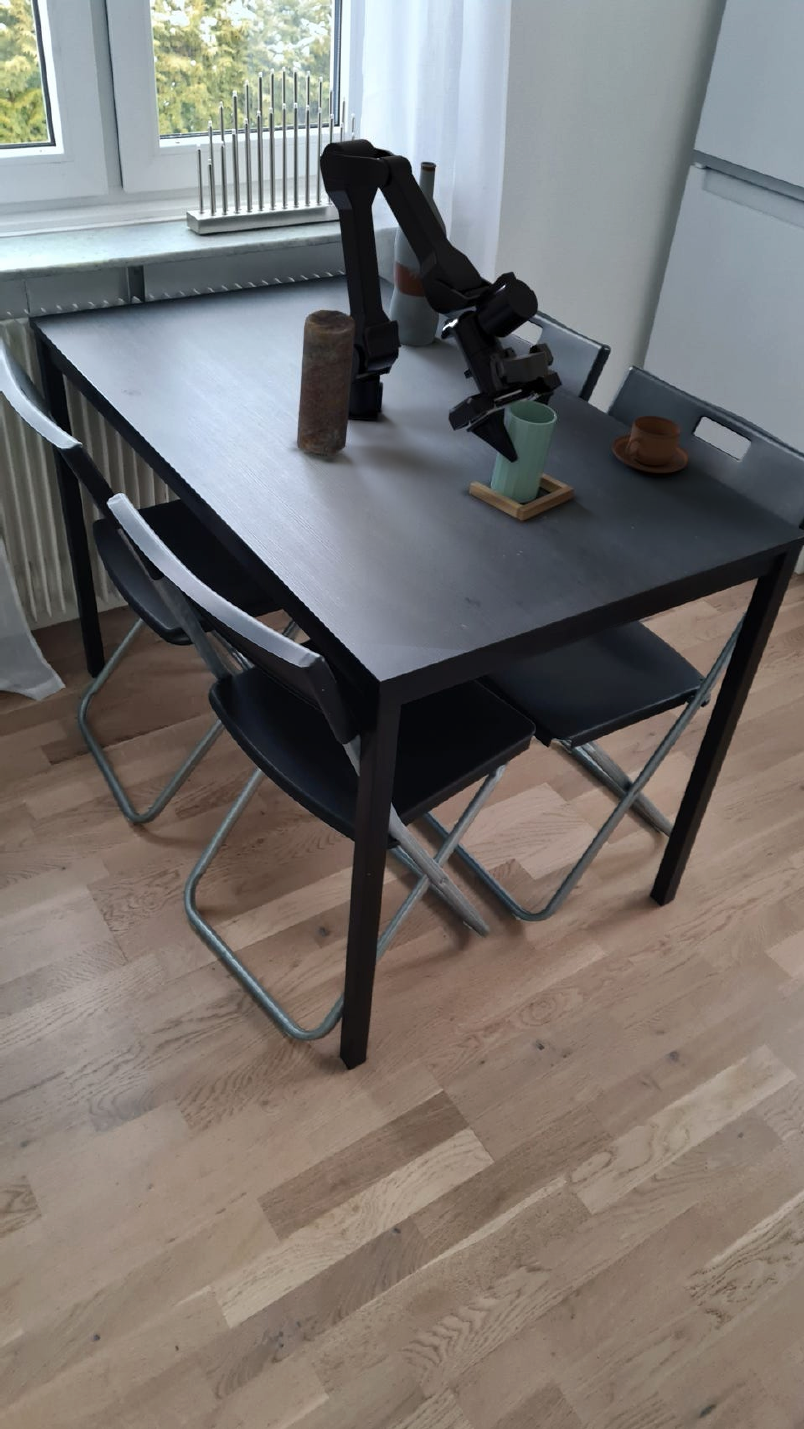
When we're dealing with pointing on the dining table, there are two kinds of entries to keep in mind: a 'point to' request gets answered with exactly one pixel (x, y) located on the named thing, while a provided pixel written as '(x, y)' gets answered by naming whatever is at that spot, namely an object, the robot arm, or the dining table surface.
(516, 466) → the glass
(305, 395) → the brown textured cylinder
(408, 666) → the dining table surface
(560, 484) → the frame
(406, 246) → the bottle
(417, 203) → the robot arm
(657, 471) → the cup and saucer
